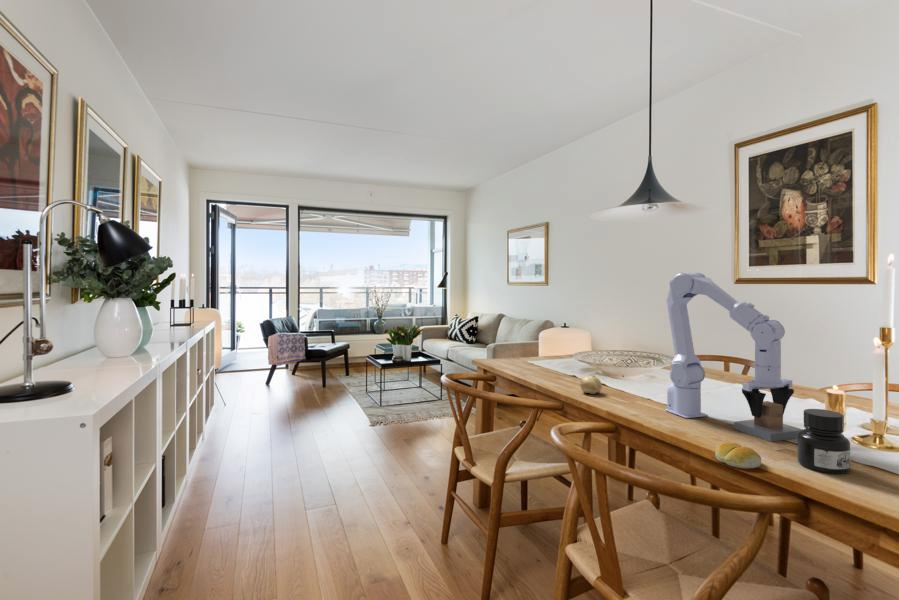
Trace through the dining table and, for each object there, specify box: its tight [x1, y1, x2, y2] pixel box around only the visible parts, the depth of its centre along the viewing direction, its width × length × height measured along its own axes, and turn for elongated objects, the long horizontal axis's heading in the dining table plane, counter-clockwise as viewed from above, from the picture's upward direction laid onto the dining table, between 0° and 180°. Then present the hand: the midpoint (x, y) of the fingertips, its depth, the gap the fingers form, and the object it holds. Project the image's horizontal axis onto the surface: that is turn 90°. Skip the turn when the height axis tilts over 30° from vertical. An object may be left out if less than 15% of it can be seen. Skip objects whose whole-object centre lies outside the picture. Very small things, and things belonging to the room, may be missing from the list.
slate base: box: [733, 418, 804, 443], centre depth 122 cm, size 11×11×2 cm
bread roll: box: [714, 442, 762, 470], centre depth 104 cm, size 8×9×4 cm
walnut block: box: [753, 400, 784, 429], centre depth 122 cm, size 4×4×6 cm
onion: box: [579, 373, 603, 395], centre depth 170 cm, size 8×8×7 cm
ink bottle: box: [797, 408, 851, 475], centre depth 99 cm, size 10×9×12 cm
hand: (767, 415), depth 122 cm, fingers open, 7 cm apart
